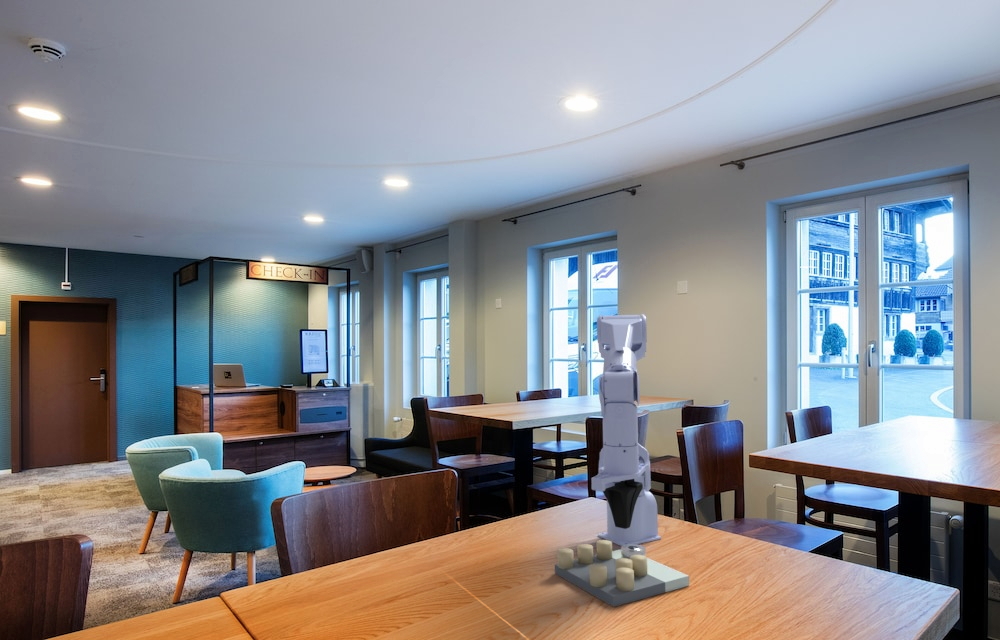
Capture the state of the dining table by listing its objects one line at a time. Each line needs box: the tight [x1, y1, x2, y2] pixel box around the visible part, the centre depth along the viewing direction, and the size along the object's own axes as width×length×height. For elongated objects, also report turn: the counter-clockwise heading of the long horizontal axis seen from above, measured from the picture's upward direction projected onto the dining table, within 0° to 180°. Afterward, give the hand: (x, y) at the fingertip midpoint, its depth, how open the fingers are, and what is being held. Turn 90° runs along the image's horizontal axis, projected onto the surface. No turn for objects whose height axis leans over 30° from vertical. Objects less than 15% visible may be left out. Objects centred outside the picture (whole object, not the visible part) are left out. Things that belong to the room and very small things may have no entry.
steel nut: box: [620, 544, 647, 559], centre depth 102 cm, size 4×4×2 cm
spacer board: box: [554, 539, 690, 608], centre depth 98 cm, size 15×15×4 cm
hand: (622, 526), depth 101 cm, fingers closed
